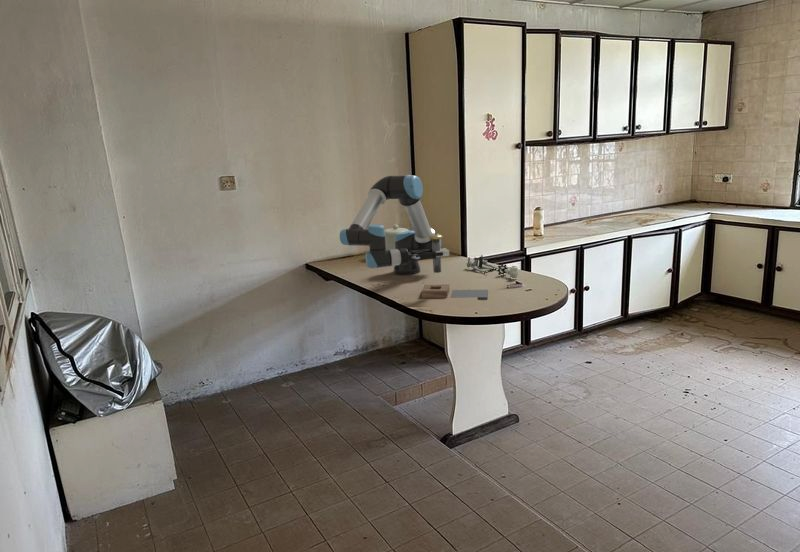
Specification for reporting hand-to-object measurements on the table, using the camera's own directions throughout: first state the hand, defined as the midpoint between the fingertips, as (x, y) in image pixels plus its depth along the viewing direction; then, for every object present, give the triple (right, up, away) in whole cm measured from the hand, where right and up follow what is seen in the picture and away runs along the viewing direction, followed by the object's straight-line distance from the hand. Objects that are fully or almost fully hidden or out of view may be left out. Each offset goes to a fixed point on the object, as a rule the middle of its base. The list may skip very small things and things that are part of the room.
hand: (447, 251), depth 264 cm
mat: (+11, -21, +2) cm, 23 cm away
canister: (-24, +1, +99) cm, 102 cm away
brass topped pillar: (-5, -9, +1) cm, 10 cm away
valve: (+35, -12, +30) cm, 48 cm away
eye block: (-5, -21, +5) cm, 22 cm away
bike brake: (+25, -9, +49) cm, 56 cm away
